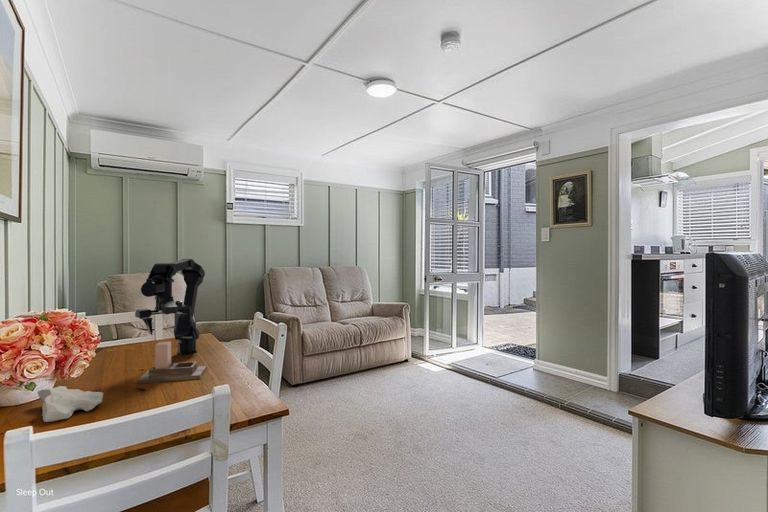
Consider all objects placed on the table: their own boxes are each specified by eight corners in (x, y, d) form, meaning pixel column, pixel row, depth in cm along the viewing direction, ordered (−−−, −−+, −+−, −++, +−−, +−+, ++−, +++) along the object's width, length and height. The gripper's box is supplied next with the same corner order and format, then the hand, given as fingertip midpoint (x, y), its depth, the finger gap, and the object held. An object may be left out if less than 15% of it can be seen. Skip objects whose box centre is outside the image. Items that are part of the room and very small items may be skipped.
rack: (149, 372, 140) (149, 363, 140) (206, 368, 145) (206, 359, 145) (136, 383, 129) (136, 372, 129) (200, 378, 134) (200, 368, 134)
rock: (98, 392, 122) (36, 399, 112) (100, 378, 122) (38, 384, 112) (105, 419, 106) (33, 430, 96) (107, 402, 106) (35, 412, 96)
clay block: (159, 371, 138) (159, 342, 138) (171, 370, 139) (171, 341, 139) (155, 375, 133) (155, 345, 133) (167, 374, 134) (167, 344, 134)
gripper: (144, 297, 138) (145, 339, 139) (196, 293, 153) (196, 331, 153) (134, 295, 146) (134, 335, 146) (184, 291, 160) (184, 328, 160)
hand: (164, 332), depth 151 cm, fingers open, 9 cm apart
